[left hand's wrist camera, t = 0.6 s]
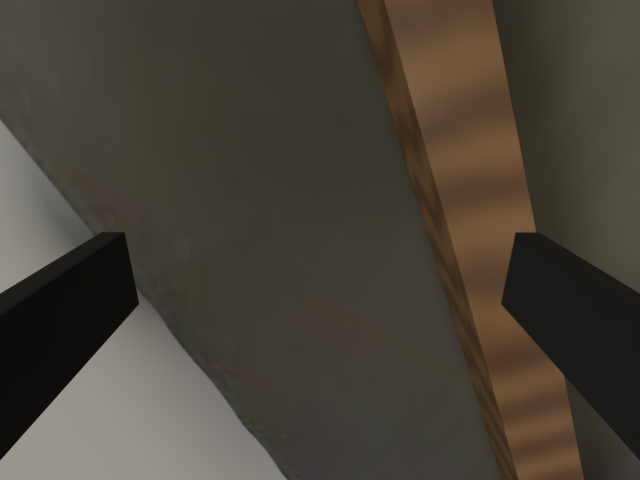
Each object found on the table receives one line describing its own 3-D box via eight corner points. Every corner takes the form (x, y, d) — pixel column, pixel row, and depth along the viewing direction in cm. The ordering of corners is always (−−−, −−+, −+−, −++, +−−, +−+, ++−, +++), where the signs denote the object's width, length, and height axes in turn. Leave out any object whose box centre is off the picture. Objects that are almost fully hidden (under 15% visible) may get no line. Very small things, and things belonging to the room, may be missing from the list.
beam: (322, -113, 26) (323, -214, 17) (400, -152, 25) (440, -276, 17) (528, 564, 53) (566, 648, 44) (568, 555, 52) (614, 639, 44)
